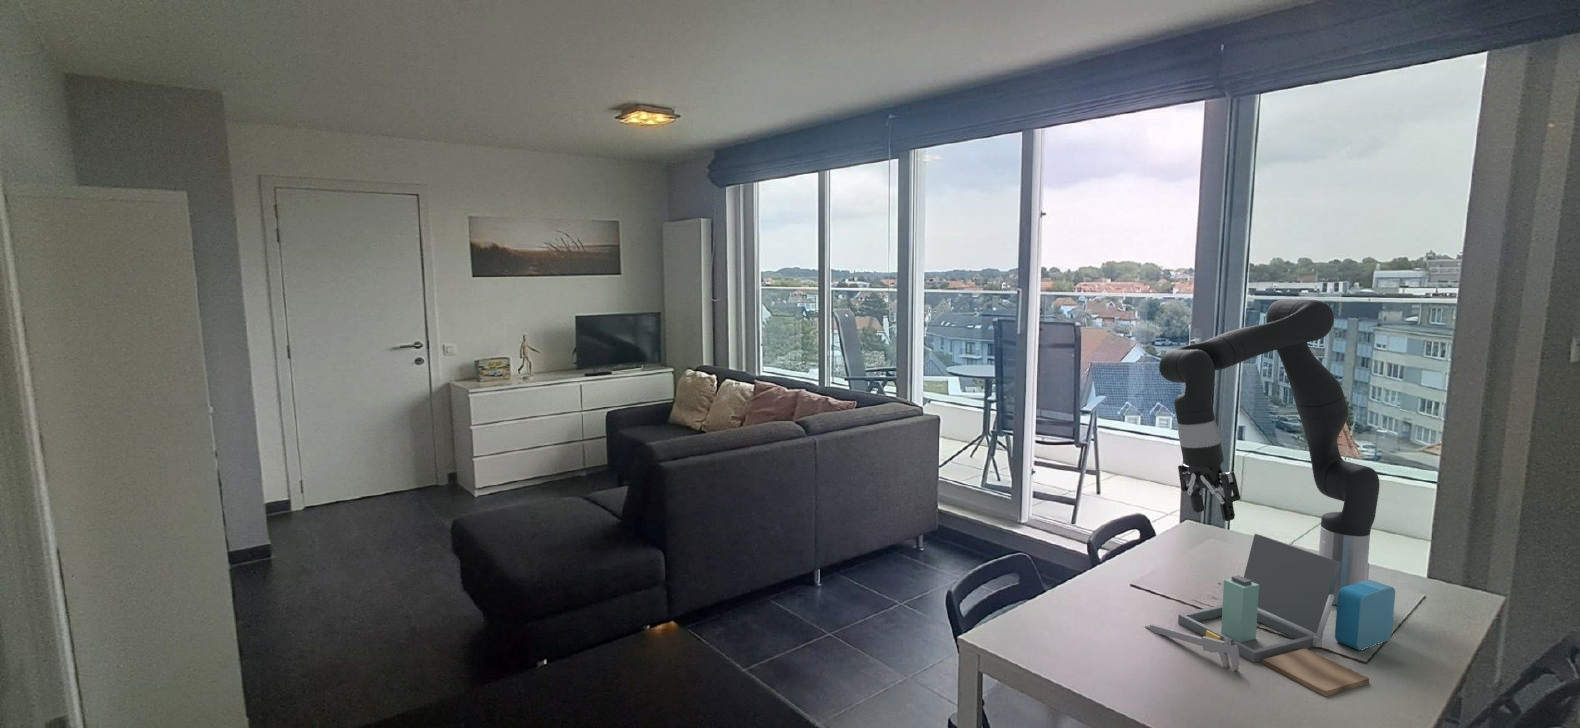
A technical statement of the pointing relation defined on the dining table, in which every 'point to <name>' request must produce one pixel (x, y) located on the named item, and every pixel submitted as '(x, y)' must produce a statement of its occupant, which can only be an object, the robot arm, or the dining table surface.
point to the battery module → (1240, 609)
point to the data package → (1364, 614)
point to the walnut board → (1315, 672)
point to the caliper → (1204, 644)
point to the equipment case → (1281, 597)
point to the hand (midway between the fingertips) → (1213, 515)
